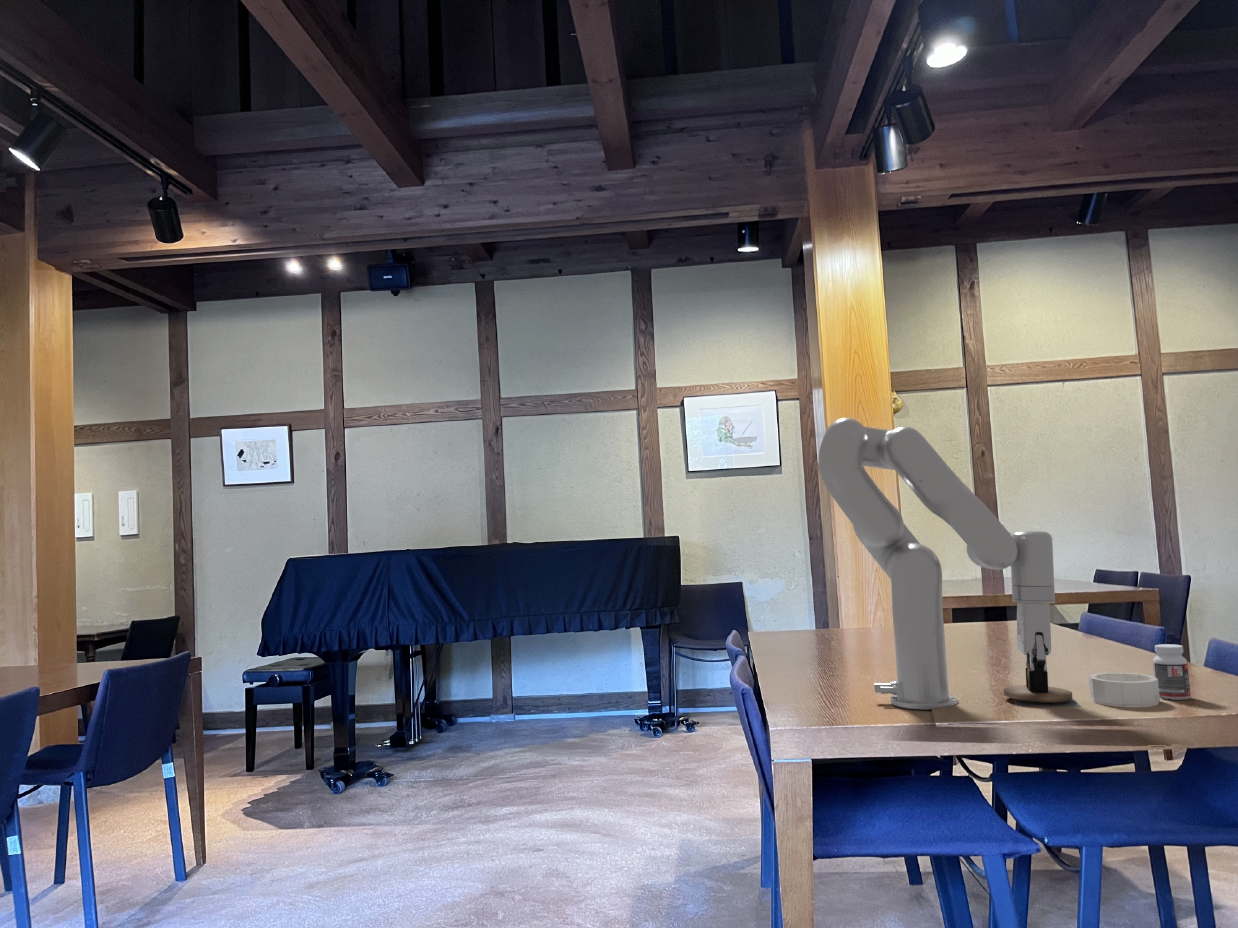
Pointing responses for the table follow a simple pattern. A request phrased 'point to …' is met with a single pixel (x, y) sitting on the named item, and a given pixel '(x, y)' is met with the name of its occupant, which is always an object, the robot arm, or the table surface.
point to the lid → (1025, 694)
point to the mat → (1046, 703)
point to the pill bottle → (1171, 672)
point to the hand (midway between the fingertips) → (1037, 689)
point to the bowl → (1124, 689)
